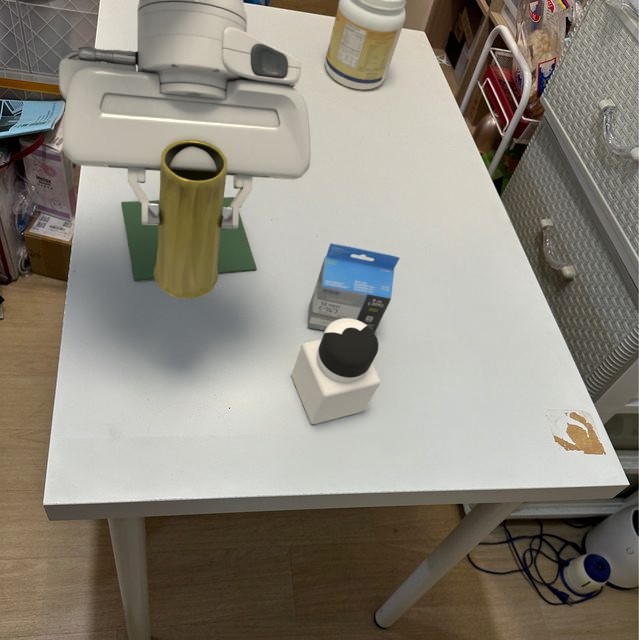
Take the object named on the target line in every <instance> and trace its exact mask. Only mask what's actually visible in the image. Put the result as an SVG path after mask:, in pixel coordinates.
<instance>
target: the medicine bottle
mask: <svg viewBox="0 0 639 640" xmlns="http://www.w3.org/2000/svg"><path fill="white" fill-rule="evenodd" d="M379 346H380V345H379V339H378V337H377V335H376V332H375V333H374V332H373V331H372V330H371V328H369V327H368V326H367V325H366V324H364V323H363V322H361V321H358V320H355V319H349V318H343V319H338V320H335V321H333V322H332V323H330V324H329V325H328V327H327V328H326V330H324V332H323V335H322V337H321V338H320V339H316V340H315V339H314V340H310V341H305V342H303V343H302V344H301V346H300V349H299V353H298V355H297V357H296V360H295V363H294V366H293V369H292V371H291V379H292V380H293V381H292V382H293V384H294V385H295V388H296V390H297V393H298V396H299V398H300V401H301V403H302V405H303V408H304V410H305V413H306V416H307V418H308V420H309V423H310V424H311V425H318V424H320V423H325V422H328V421H332V420H336V419H340V418H343V417H348V416H351V415H355V414H359V413H362V412H365V410H366V408H367V407H368V405H369V403H370V402H371V400H372V398H373V396H374V395H375V393H376V391H377V390H378V388H379V386H380V384H381V382H382V381H381V378H380V375H379V374H378V372H377V369H376V368H375V365H374V364H373V362H374V360H375V358H376V356H377V354H378V352H379Z"/></svg>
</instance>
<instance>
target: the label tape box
mask: <svg viewBox="0 0 639 640" xmlns="http://www.w3.org/2000/svg"><path fill="white" fill-rule="evenodd" d="M352 255H356V256H365V257H366V258H369V259H373V260H369V259H364V258H360V257H359V258H358V257H353V256H352ZM400 260H401V258H400V257H399V256H397V255H392V254H388V253H384V252H378V251H375V250H369V249H366V248H365V249H364V248H360V247H356V246H355V247H353V246H350V245H344V244H338V243H335V242H330V244H329V246H328V248H327V252H326V255H325V256H324V257H323V261H322V264H321V267H320V271H319V274H318V277H317V279H316V283H315V285H314V289H313V293H312V296H311V298H310V302H309V305H308V319H307V328H308V329H313V330H320V331H325V330H326V328H327V327H328V325H329V324H330V323H332V322H333V321H335V320H338V319H343V318H349V319H355V320H358V321H361V322H363V323H364V324H366V325H367V326H368V327H369V328H371V330H372V331H373V332H374V333H375V334H376V331H377V329H378V327H379V325H380V323H381V321H382V319H383V317H384V315H385V313H386V311H387V308H389V305H390V303H391V301H392V294H393V287H394V277H395V268H396V266H397V265H398V262H399V261H400Z"/></svg>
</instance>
